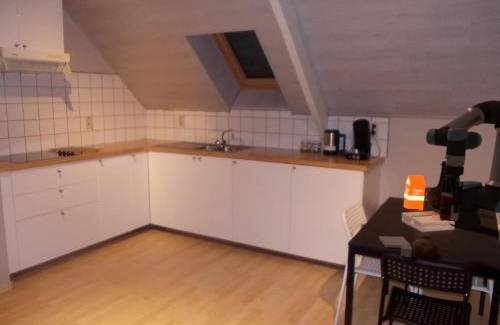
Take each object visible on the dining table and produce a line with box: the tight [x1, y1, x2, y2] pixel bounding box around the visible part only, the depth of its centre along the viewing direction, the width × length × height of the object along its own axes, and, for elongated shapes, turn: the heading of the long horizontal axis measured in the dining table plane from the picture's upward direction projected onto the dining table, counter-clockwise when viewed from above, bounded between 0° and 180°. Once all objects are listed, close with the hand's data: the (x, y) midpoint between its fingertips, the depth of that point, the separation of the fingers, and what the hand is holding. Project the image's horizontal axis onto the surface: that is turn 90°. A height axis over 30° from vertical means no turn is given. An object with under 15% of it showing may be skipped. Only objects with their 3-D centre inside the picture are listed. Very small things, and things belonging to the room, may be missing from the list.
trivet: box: [378, 235, 412, 249], centre depth 195 cm, size 11×11×1 cm
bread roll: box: [411, 238, 438, 258], centre depth 184 cm, size 10×10×8 cm
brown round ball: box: [413, 231, 432, 242], centre depth 193 cm, size 5×5×5 cm
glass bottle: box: [426, 160, 452, 209], centre depth 255 cm, size 18×18×28 cm
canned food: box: [439, 192, 460, 222], centre depth 184 cm, size 8×8×11 cm
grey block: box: [400, 245, 412, 259], centre depth 180 cm, size 4×4×4 cm
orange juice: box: [403, 174, 426, 211], centre depth 252 cm, size 8×9×20 cm
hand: (448, 216), depth 185 cm, fingers closed on canned food, 8 cm apart
